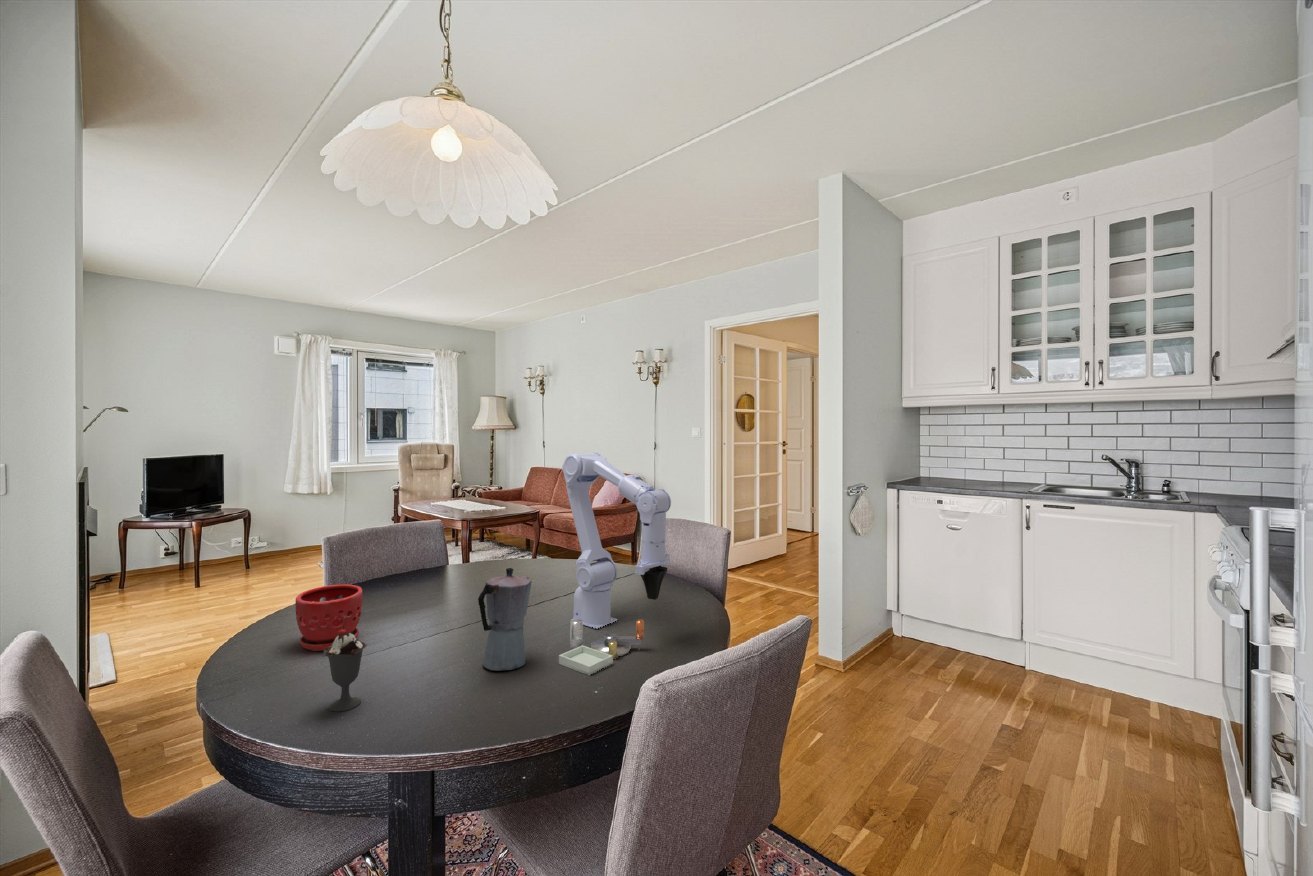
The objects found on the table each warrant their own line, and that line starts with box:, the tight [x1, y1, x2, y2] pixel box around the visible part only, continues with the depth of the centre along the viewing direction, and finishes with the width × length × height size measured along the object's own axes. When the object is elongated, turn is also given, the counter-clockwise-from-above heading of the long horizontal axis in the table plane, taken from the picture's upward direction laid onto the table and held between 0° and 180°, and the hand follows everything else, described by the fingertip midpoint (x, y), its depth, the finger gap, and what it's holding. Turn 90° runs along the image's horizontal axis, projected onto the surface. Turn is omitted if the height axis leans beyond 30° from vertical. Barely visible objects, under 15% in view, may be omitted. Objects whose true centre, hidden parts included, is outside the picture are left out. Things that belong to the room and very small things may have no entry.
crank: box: [603, 619, 645, 646], centre depth 121 cm, size 9×3×5 cm, turn 93°
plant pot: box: [295, 584, 364, 652], centre depth 123 cm, size 13×13×12 cm
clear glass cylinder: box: [569, 618, 584, 651], centre depth 121 cm, size 3×3×6 cm
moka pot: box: [477, 567, 532, 672], centre depth 113 cm, size 10×15×20 cm, turn 161°
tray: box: [558, 645, 614, 677], centre depth 114 cm, size 9×7×2 cm
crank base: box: [590, 637, 632, 660], centre depth 121 cm, size 9×9×3 cm
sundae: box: [323, 619, 368, 712], centre depth 95 cm, size 7×7×15 cm
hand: (652, 598), depth 127 cm, fingers closed
